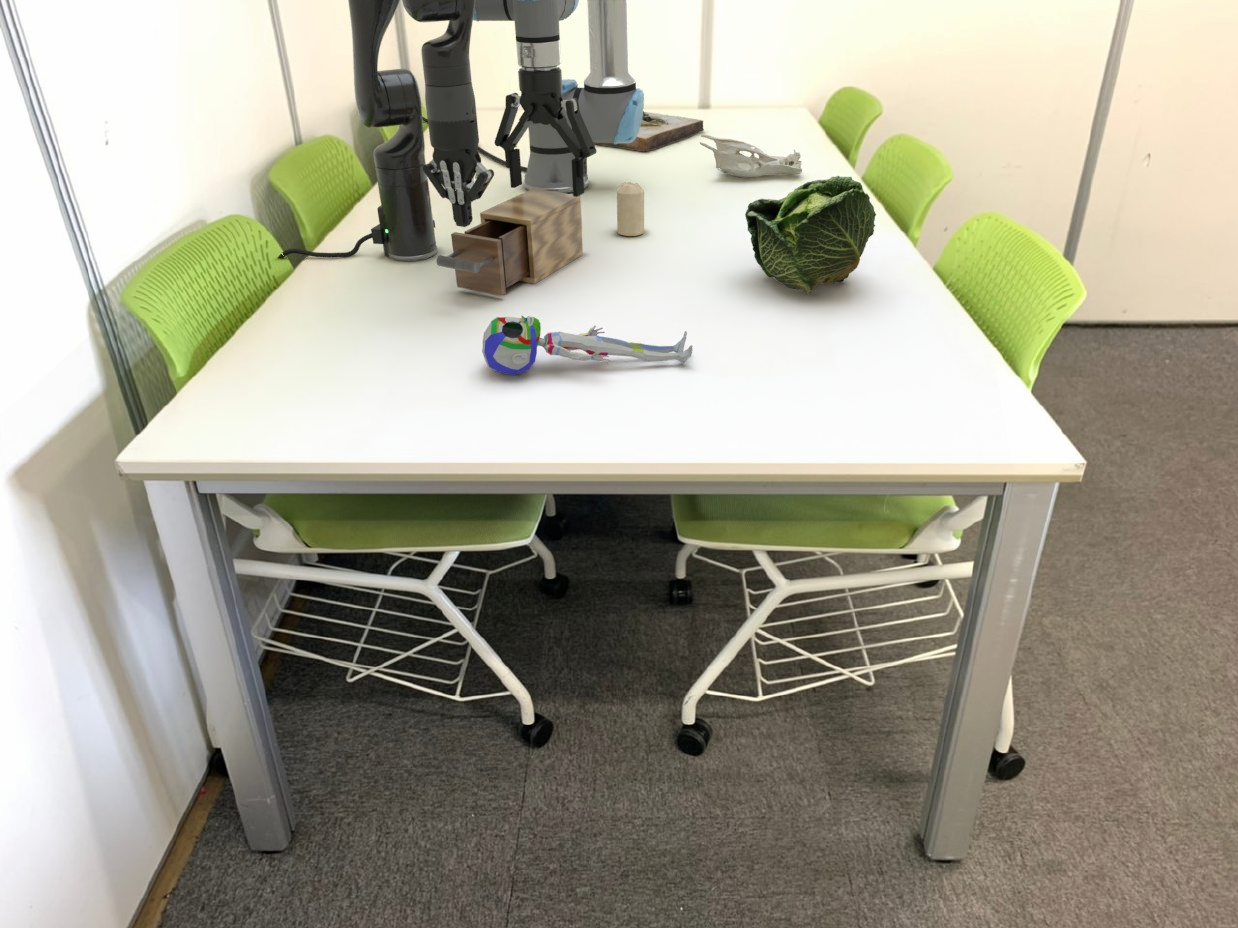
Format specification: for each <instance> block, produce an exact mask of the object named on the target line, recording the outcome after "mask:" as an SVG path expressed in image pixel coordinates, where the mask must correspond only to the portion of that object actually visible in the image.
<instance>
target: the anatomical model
mask: <svg viewBox="0 0 1238 928" xmlns="http://www.w3.org/2000/svg"><path fill="white" fill-rule="evenodd" d="M701 138H705V139H707V140H708V139H709V140H711V141H713V142H714V143H715V146H716V147H712V146H710V145H709V144H707V143H704V142H702V141H699V145H700V146H702V147H705V148H706V149H708V150H711V151H712V152H713V157H714V160H715V169H720V172H722V173H723V174H729V175H731V176H733V177H735V178H757V177H761V176H767V175H768V176H770V175H778V176H779V175H781V176H795V175H800V174H801V173H803V169H802V167H801V166H802V160H800V159H801V153H800V152H797V151H796V149H793V153H790V154H788V155H787V156H780V155H779V156H778V155H770V154H767V153H765V152H764V150H762V149H760V148H759V147H758V146H755V145H752V144H750V143H747V142H744V141H741V140H737V139H732V138H720V137H717V136H711V135H708V134H705V133H702V134H701ZM741 152H748V153H750V154H751V155H750V156H747V155H744V154H743V153H741ZM755 154H756V155H757V156H758V157H756V156H755Z"/></svg>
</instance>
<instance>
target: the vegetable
mask: <svg viewBox="0 0 1238 928" xmlns="http://www.w3.org/2000/svg"><path fill="white" fill-rule="evenodd" d="M870 199H871V198H870V195H869V193H868V192H867V193H866V192H865V190H864V188H863V185H862V183H861V181H857V180H854V179H853V177H852V176H840V175H836V176H831V177H830V178H828V179H816V180H812V181H807V182H805V183H803V184H802V185H800V186H798V187H796V188H794V190H792V191H790V192H788V193H787V195H786V196H785V197H783V198H779V199H772V198H759V199H756V200H754V201H752V202H750V203H749V204H748V205H747V209H746V211H745V214H744V216H745V221H746V223H747V232H748V233H749V234H750V236H751V237H750V242H751V246H752V251H753V252H754V255H753V257H754V259H755V261H756V263H757V264H758V265H759V267H760V268H761V270H762V271H763V273H764V274H765V275H766V276H767V278H773V279H774V280H775V281H776V282H778V283H779V284H781V285H783V286H785V287H787V288H790V289H793V290H801V291H804V292H806V294H810V292H815V289H814V287H816V286H817V285H819V284H829V285H833V284H834V283H842V282H843V283H844V281H845V280H847V279H848V278H849V276H850V274H851V273H853V272H854V271H855V270H856V269H857V268H858V266H859V264H860V262H861V258H862V256H863V253H864V251H865V248H866V245H867V243H868V241H869V239H870V238H871V237H872V236H873V235H874V232H875V226H876V224H875V221H876V216H877V213H876V211H875V207H874V205H873V204H872V202H871V201H870Z"/></svg>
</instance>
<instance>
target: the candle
mask: <svg viewBox="0 0 1238 928" xmlns="http://www.w3.org/2000/svg"><path fill="white" fill-rule="evenodd" d="M616 228H617V234H618V235H621V236H624V237H625V236H626V237H636V236H641V235H642V234H644V233H645V189H644V188H643V187H642V186H641V185H640V184H639V182H636V183H633V182H629V181H623V182H622V183H621V185H620V186H618V188H617V189H616Z"/></svg>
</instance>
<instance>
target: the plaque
mask: <svg viewBox="0 0 1238 928" xmlns="http://www.w3.org/2000/svg"><path fill="white" fill-rule="evenodd" d="M704 130H705V129H704V120H702V119H698V118H693V117H685V116H679V115H669V114H663V113H659V112H650V111H644V110H643V116H642V122H641V126H640V130H639V133H638V135H637V137H636V139H635V140H634V141H633V142H631V143H617V144H614V143H595V142H593V143H594V145H597V146H598V145H599V146H607V147H612V148H620V149H625V150H632V151H640V152H648V151H654V150H656V149H659V148H662V147H663V146H664V147H665V146H667V145H670V144H672V143H676V142H680V141H682V140H684V139H687V138H691V137H692V136H694V135H696V134H698V133H700V132H704Z"/></svg>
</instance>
